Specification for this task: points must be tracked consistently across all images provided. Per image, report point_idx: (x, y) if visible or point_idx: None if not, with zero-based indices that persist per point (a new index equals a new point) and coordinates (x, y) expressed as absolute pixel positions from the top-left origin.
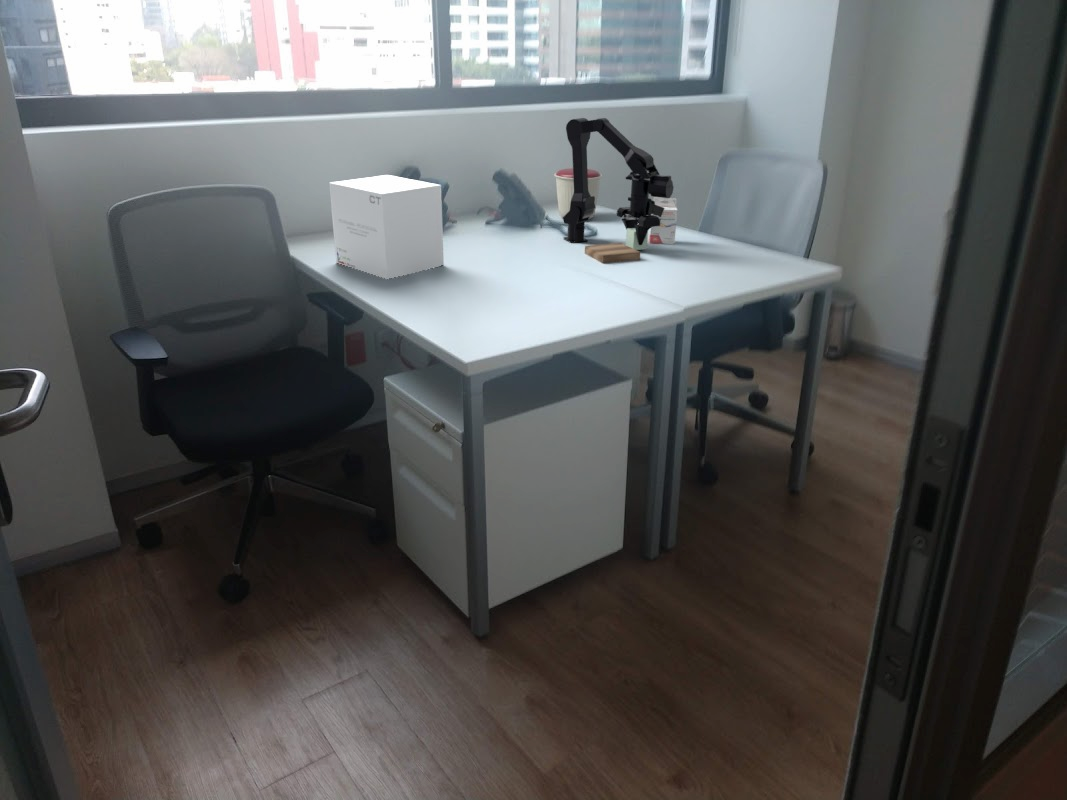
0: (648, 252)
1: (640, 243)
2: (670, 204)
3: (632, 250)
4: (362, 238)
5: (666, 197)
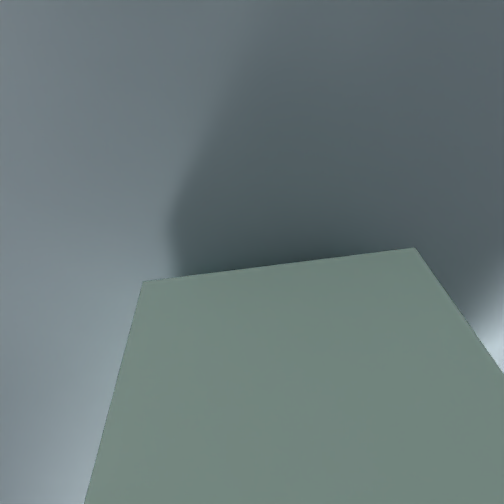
0: (474, 219)
1: None
2: None
3: None
4: None
5: None
